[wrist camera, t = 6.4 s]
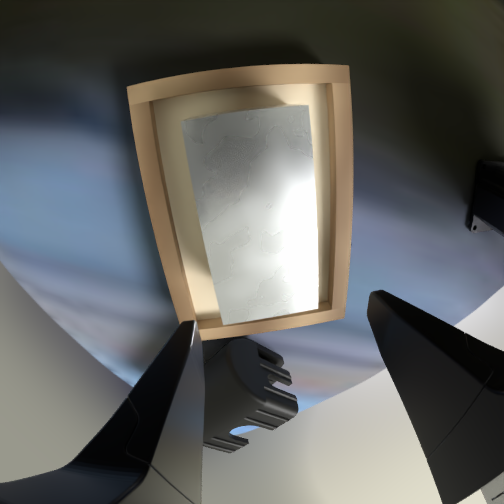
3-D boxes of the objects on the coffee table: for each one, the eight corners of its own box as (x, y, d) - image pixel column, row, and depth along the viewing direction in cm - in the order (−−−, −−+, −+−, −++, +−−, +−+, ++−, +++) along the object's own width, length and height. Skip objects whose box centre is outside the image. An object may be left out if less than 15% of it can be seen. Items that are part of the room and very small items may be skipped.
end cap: (225, 318, 23) (230, 388, 17) (289, 354, 26) (306, 416, 20) (160, 381, 26) (154, 441, 20) (220, 406, 29) (224, 462, 23)
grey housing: (300, 269, 19) (318, 308, 16) (221, 282, 19) (223, 324, 15) (286, 104, 14) (308, 104, 11) (189, 117, 14) (180, 121, 11)
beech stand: (328, 69, 15) (348, 65, 13) (331, 293, 23) (344, 318, 20) (141, 89, 15) (126, 86, 12) (188, 314, 22) (185, 342, 20)
